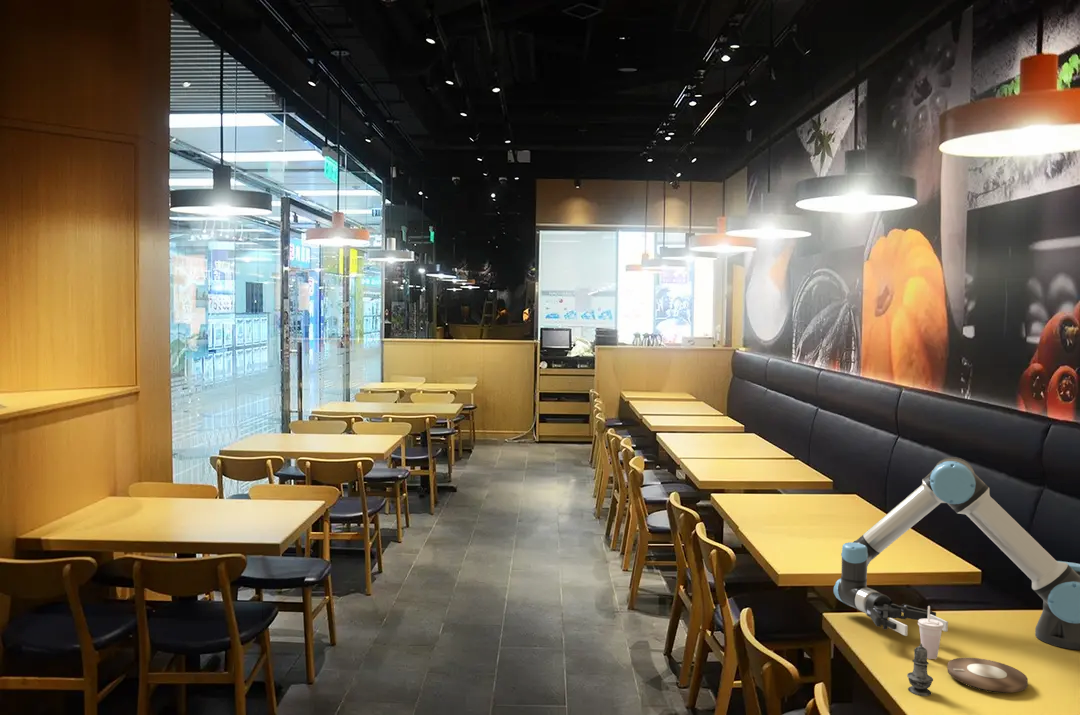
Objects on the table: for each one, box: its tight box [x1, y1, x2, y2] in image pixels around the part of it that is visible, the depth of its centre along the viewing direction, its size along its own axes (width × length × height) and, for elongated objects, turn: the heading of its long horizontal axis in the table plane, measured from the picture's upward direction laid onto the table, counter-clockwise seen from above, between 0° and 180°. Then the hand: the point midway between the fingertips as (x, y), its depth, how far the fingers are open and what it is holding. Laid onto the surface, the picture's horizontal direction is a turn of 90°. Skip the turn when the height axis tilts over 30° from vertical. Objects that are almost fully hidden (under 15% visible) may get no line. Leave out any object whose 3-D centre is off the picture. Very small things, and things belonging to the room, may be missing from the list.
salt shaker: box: [906, 643, 934, 697], centre depth 199 cm, size 6×6×12 cm
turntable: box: [946, 657, 1029, 693], centre depth 206 cm, size 18×18×2 cm
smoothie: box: [917, 605, 944, 660], centre depth 222 cm, size 6×6×14 cm
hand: (926, 628), depth 222 cm, fingers open, 13 cm apart
